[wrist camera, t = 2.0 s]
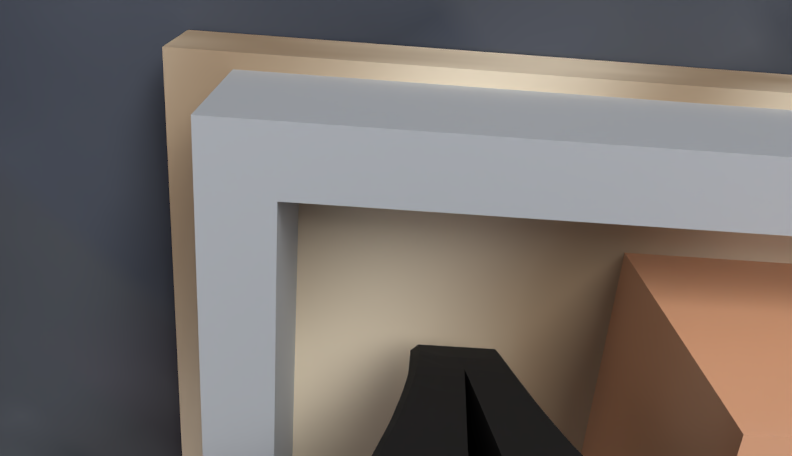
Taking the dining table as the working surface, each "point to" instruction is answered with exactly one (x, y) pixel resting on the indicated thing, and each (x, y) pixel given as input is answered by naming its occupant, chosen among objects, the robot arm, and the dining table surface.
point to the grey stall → (432, 195)
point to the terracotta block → (695, 360)
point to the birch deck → (437, 245)
